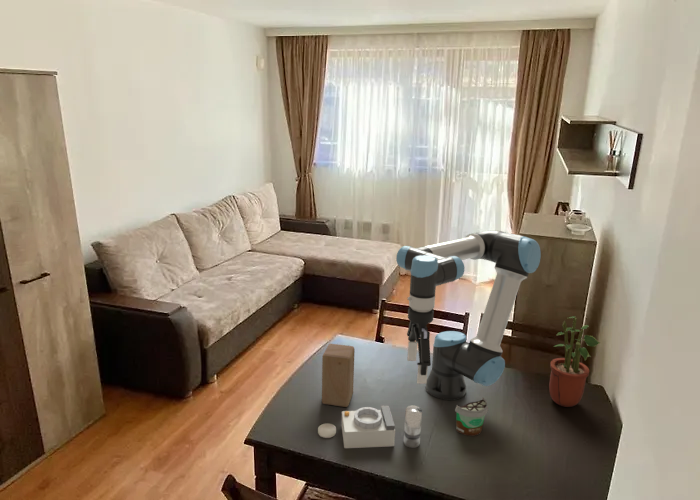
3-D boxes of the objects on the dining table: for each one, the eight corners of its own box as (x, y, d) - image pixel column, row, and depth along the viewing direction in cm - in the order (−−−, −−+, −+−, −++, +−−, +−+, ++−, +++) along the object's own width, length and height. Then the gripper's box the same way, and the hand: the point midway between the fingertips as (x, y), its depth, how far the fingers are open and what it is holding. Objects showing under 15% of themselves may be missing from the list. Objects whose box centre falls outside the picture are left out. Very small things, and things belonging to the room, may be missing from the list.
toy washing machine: (388, 424, 170) (389, 404, 168) (394, 446, 159) (395, 424, 157) (341, 426, 168) (342, 406, 166) (344, 448, 158) (344, 426, 155)
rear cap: (335, 426, 168) (335, 423, 168) (336, 438, 163) (336, 434, 162) (317, 427, 168) (317, 423, 167) (318, 439, 162) (318, 435, 162)
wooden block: (348, 408, 178) (349, 358, 173) (321, 404, 180) (321, 354, 174) (353, 393, 188) (355, 345, 182) (327, 389, 189) (328, 342, 184)
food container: (464, 442, 162) (467, 415, 159) (452, 431, 167) (455, 405, 164) (493, 432, 168) (496, 406, 165) (481, 421, 173) (484, 396, 170)
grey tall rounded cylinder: (417, 436, 164) (420, 405, 161) (421, 447, 159) (424, 414, 156) (402, 437, 164) (404, 405, 160) (405, 448, 159) (407, 415, 155)
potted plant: (572, 417, 177) (588, 327, 167) (532, 397, 188) (545, 312, 178) (594, 399, 188) (610, 314, 178) (554, 382, 199) (568, 301, 189)
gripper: (400, 292, 160) (396, 352, 165) (418, 325, 136) (413, 394, 142) (423, 292, 160) (418, 351, 166) (445, 325, 136) (439, 393, 142)
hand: (416, 371), depth 154 cm, fingers open, 13 cm apart
